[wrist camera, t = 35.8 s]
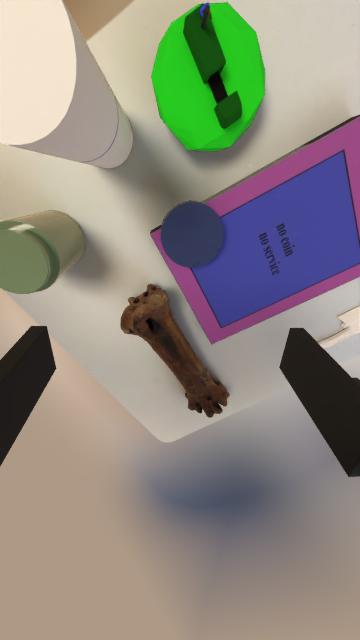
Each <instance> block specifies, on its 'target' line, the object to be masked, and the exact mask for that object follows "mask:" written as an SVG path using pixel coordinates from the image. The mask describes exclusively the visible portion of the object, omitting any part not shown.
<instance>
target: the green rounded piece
mask: <svg viewBox="0 0 360 640" xmlns="http://www.w3.org/2000/svg"><path fill="white" fill-rule="evenodd" d="M151 78H152V82H153V87H154V92H155V96H156V101H157V105H158V110H159V114H160V118H161V119H162V120H163V122H164V123H165V124H166V125H167V126H168V128H169V129H170V130H171V131H172V132H173V133H174V135H175V136H176V137H177V138H178V139H179V140H180V142H181V143H182V144H183V145H184V146H185V147H186V149H187V150H198V151H212V152H213V151H217V150H221V149H225V148H229V147H231V145H232V144H233V143H234V142H235V141H236V140H237V139H238V138H239V137H240V136H241V135H242V134H243V133H244V132H245V131H246V129H247V128H248V127H249V126H250V125H251V124H252V121H253V119H254V117H255V115H256V113H257V110H258V108H259V106H260V104H261V101H262V99H263V97H264V95H265V68H264V64H263V60H262V56H261V51H260V47H259V43H258V39H257V34H256V32H255V31H254V30H253V29H252V27H251V26H250V25H249V24H248V23H247V22H246V21H245V20H244V19H243V18H242V17H241V16H240V15H239V14H238V13H237V12H236V11H235V10H234V9H233V8H232V7H231V6H230V4H229V3H228V2H224V3H211V4H209V3H206V4H203V3H202V4H198V5H197V6H195V7H194V8H193V9H191V10H190V11H188V12H187V13H185V14H184V15H182V16H181V17H179V18H178V19H176V20H175V21H174V22H172V23H171V25H170V26H169V28H168V30H167V32H166V33H165V35H164V37H163V38H162V40H161V42H160V43H159V47H158V51H157V55H156V59H155V63H154V67H153V71H152V75H151Z"/></svg>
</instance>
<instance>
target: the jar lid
mask: <svg viewBox="0 0 360 640" xmlns="http://www.w3.org/2000/svg"><path fill="white" fill-rule="evenodd" d="M160 238H161V243H162V247H163V249H164V251H165V253H166V255H167V256H168V257H169V258H170V259H171V260H172V261H173V262H175V263H176V264H178V265H180V266H183V267H189V268H194V267H199V266H202V265H205V264H207V263H208V262H210V261H211V260H212V259H213V258H214V257H215V256H216V255H217V254H218V252H219V250H220V248H221V246H222V243H223V239H224V229H223V224H222V221H221V219H220V217H219V216H218V214H217V213H216V212H215V211H214V210H213V209H212V208H211V207H209V206H208V205H207V204H203V203H201V202H197V201H191V200H190V201H186V202H182V203H180V204H178V205H176V206H174V207H173V208H172V209H171V210H170V211H169V212H168V213H167V215H166V216H165V218H164V219H163V223H162V227H161V235H160Z"/></svg>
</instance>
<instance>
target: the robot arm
mask: <svg viewBox="0 0 360 640" xmlns="http://www.w3.org/2000/svg"><path fill="white" fill-rule="evenodd" d="M279 368H280V369H281V371H282V372H283V374H284V376H285V377H286V379H287V380H288V382H289V383H290V385H291V387H292V388H293V390H294V391H295V393H296V395H297V396H298V398H299V399H300V401H301V402H302V404H303V406H304V407H305V409H306V410H307V412H308V413H309V415H310V417H311V418H312V420H313V421H314V423H315V425H316V426H317V428H318V429H319V431H320V432H321V434H322V436H323V437H324V439H325V440H326V442H327V443H328V445H329V447H330V448H331V449H332V451H333V453H334V455H335V456H336V457H337V459H338V461H339V462H340V464H341V466H342V467H343V469H344V470H345V472H346V474H347V475H348V477H356V476H360V380H359V379H358V378H351V377H350V376H349V374H347V372H346V371H345V370H344V369H343V368H342V367H341V366H340V365H339V364H338V363H337V362H336V361H335V360H334V359H333V358H332V357H331V356H330V355H329V354H328V353H327V352H326V351H325V350H324V349H323V348H322V347H321V346H320V345H319V344H318V343H317V341H316V340H315V339H314V338H313V337H312V336H311V335H310V334H309V333H308V332H307V331H306V330H305V329H304V328H290V331H289V334H288V338H287V342H286V345H285V349H284V353H283V356H282V360H281V363H280V367H279ZM55 370H56V365H55V361H54V357H53V352H52V348H51V343H50V339H49V334H48V330H47V326H31V327H30V328H29V329H28V331H26V333H25V334H24V335H23V336H22V337H21V338H20V339H19V340H18V342H16V344H15V345H14V346H13V347H12V348H11V349H10V350H9V351H8V352H7V353H6V354H5V356H4V357H3V358H2V359H1V360H0V465H1V464H2V462H3V460H4V459H5V457H6V455H7V454H8V452H9V450H10V448H11V446H12V445H13V443H14V441H15V440H16V438H17V436H18V434H19V433H20V431H21V429H22V427H23V426H24V424H25V422H26V420H27V419H28V417H29V415H30V413H31V412H32V410H33V408H34V406H35V405H36V403H37V401H38V399H39V398H40V396H41V394H42V392H43V391H44V389H45V387H46V385H47V384H48V382H49V380H50V378H51V376H52V375H53V373H54V371H55Z"/></svg>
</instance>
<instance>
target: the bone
mask: <svg viewBox="0 0 360 640" xmlns="http://www.w3.org/2000/svg"><path fill="white" fill-rule="evenodd" d="M128 302H129V303H130V306H128V307H127V308H126V309H125V310H124V312H123V314H122V316H121V329H122V330H123V332H124V333H126V334H133V335H138V336H140V337H142V338H143V339H144V340H145V341H147V342H148V343H149V344H150V346H151V347H152V348H153V350H154V351H155V352H156V353H157V354H158V355H159V356H160V357H161V359H162V360H163V361H164V362H165V363H166V364H167V366H168V367H169V368H170V369H171V371H172V372H173V373H174V375H175V376H176V377H177V379H178V380H179V381H180V383H181V384H182V385H183V387H184V389H185V390H186V392H187V393H185V396H186V398H187V399H188V408H189V409H190V410H196V411H197V412H198V413H202V409H203V410H204V412H205V413H206V415H207V416H208V417H209V418H210V417H213V415H214V414H215V413H216V414H220V413H222V411H223V410H222V408H221V407H220V405H219V404H221V405H223V406H226V405H227V398H228V397H229V396H230V394H229V393H228V391H227V390H226V388H225V387H224V386H223V385H222V384H221V382H218V384H215V383H214V381H213V380H212V377H211V376H210V374H209V373H208V371H207V369H206V368H204V367H203V365H202V364H201V362H200V361H199V359H198V357H197V356H196V354H195V353H194V351H193V349H192V348H191V346H190V344H189V343H188V341H187V340H186V338H185V337H184V335H183V333H182V332H181V330H180V328H179V327H178V325H177V323H176V322H175V320H174V318H173V315H172V312H171V309H170V305H169V302H170V301H169V299H168V297H167V293H166V292H165V291H164V290H161V288H156V287H155V286H154V285H152V284H148V286H147V291H146V292H144V293H143V294H141V295H140V296H138V297H136V298H134V297H130V298H129V299H128ZM218 403H219V404H218Z"/></svg>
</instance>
